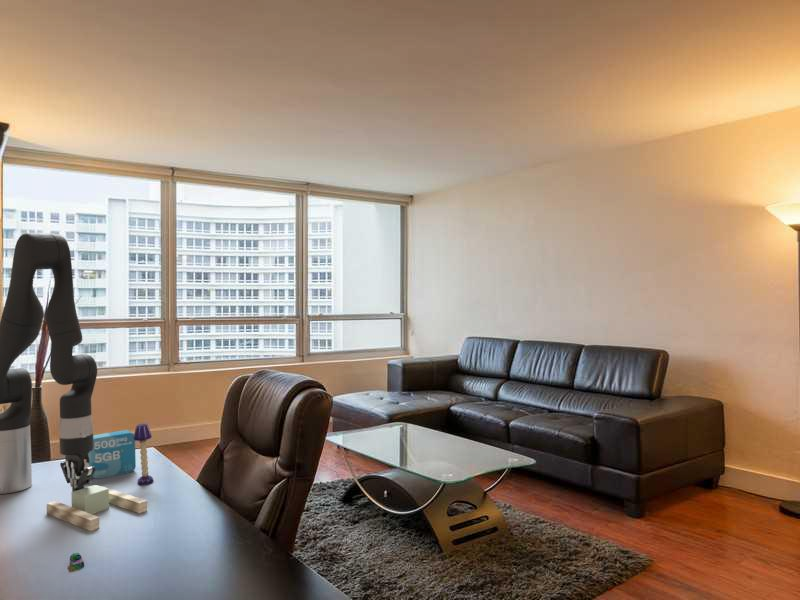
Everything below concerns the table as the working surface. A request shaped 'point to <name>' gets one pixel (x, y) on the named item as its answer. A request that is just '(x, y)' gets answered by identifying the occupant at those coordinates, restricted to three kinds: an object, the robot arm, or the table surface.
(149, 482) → the toy lamp
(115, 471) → the data package
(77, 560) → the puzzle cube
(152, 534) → the table surface
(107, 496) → the sage block
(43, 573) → the table surface
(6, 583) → the table surface
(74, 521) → the parallel wooden bars
